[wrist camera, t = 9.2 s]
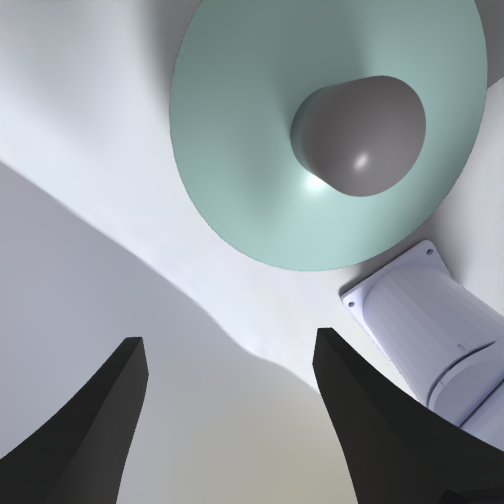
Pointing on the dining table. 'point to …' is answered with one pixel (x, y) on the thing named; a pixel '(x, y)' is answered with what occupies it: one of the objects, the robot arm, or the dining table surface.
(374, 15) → the lid
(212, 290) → the dining table surface
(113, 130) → the dining table surface
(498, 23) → the mat
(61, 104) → the dining table surface
